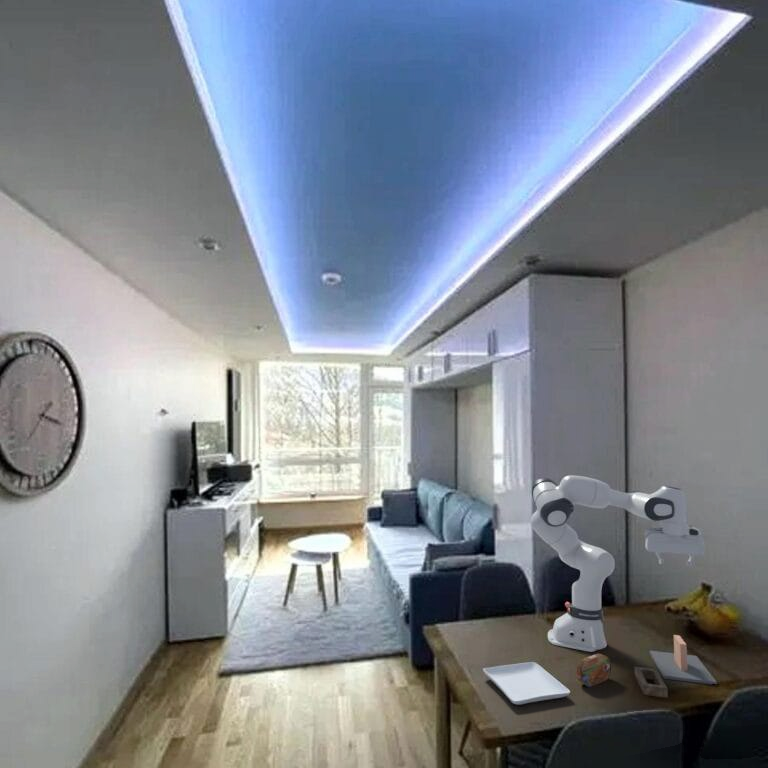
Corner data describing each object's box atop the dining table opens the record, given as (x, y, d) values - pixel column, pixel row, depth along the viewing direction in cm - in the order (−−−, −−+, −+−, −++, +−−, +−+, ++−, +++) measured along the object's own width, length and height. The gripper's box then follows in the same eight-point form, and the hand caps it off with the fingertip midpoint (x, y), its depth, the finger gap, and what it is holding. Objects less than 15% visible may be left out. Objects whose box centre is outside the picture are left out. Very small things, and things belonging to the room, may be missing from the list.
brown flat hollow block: (643, 694, 163) (643, 685, 163) (634, 675, 176) (634, 666, 176) (667, 697, 161) (667, 688, 162) (656, 678, 174) (656, 669, 174)
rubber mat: (664, 678, 174) (664, 675, 174) (649, 653, 193) (649, 650, 193) (716, 685, 170) (716, 682, 170) (696, 658, 189) (696, 655, 189)
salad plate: (572, 701, 159) (572, 690, 160) (513, 712, 153) (513, 700, 154) (534, 670, 180) (534, 660, 180) (481, 678, 174) (481, 668, 174)
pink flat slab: (681, 670, 178) (680, 643, 178) (674, 659, 185) (673, 634, 186) (687, 670, 177) (686, 644, 178) (680, 660, 185) (679, 635, 186)
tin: (583, 689, 166) (582, 663, 167) (575, 685, 169) (574, 659, 170) (612, 678, 174) (611, 653, 174) (604, 674, 176) (603, 650, 177)
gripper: (646, 528, 194) (647, 565, 193) (706, 531, 189) (707, 569, 187) (642, 525, 200) (643, 560, 199) (700, 528, 195) (701, 564, 194)
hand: (675, 564), depth 193 cm, fingers open, 8 cm apart
